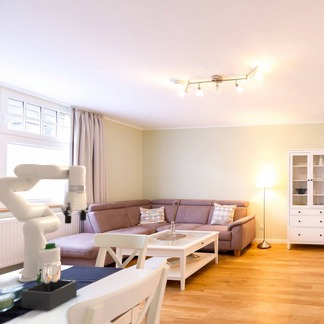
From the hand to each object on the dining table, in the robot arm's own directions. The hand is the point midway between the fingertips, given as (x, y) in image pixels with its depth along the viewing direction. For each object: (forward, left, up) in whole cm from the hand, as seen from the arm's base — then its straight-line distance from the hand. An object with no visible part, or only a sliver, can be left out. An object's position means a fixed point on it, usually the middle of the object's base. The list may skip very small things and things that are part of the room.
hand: (75, 221), depth 143 cm
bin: (+9, -22, -30) cm, 39 cm away
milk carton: (-7, -8, -31) cm, 32 cm away
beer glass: (+9, -22, -30) cm, 38 cm away
